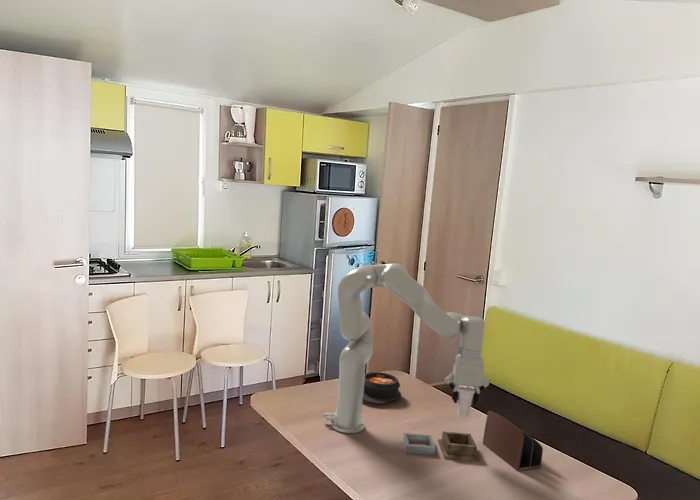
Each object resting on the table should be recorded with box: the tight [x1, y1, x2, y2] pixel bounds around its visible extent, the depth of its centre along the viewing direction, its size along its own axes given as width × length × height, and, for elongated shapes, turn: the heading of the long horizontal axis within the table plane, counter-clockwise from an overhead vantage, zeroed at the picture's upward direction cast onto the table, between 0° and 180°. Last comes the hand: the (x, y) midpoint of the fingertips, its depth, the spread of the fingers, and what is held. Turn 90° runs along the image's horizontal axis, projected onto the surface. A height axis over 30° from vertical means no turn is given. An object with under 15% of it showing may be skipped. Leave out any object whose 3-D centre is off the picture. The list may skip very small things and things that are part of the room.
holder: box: [402, 432, 436, 456], centre depth 190 cm, size 10×10×2 cm
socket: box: [437, 431, 480, 462], centre depth 190 cm, size 12×12×4 cm
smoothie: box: [457, 386, 475, 418], centre depth 187 cm, size 6×6×14 cm
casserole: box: [363, 371, 402, 405], centre depth 233 cm, size 25×19×8 cm
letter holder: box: [482, 410, 544, 472], centre depth 190 cm, size 10×20×14 cm, turn 22°
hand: (464, 401), depth 188 cm, fingers closed on smoothie, 6 cm apart
